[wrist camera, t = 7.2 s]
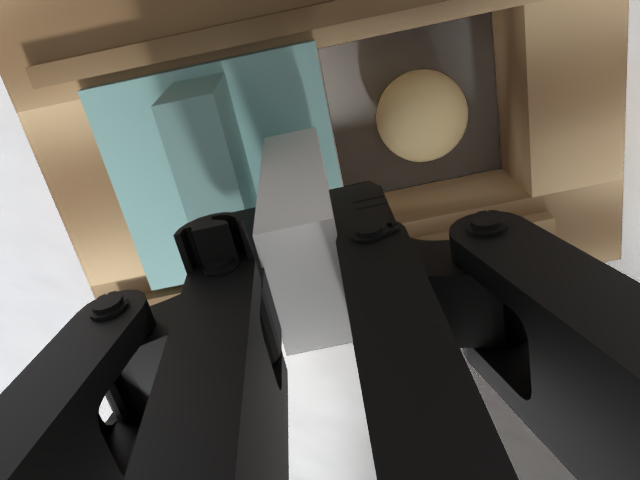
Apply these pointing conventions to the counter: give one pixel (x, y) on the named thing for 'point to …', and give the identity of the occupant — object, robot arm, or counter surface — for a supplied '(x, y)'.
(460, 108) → the ball
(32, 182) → the counter surface
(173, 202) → the cover
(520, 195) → the wooden compartment tray
